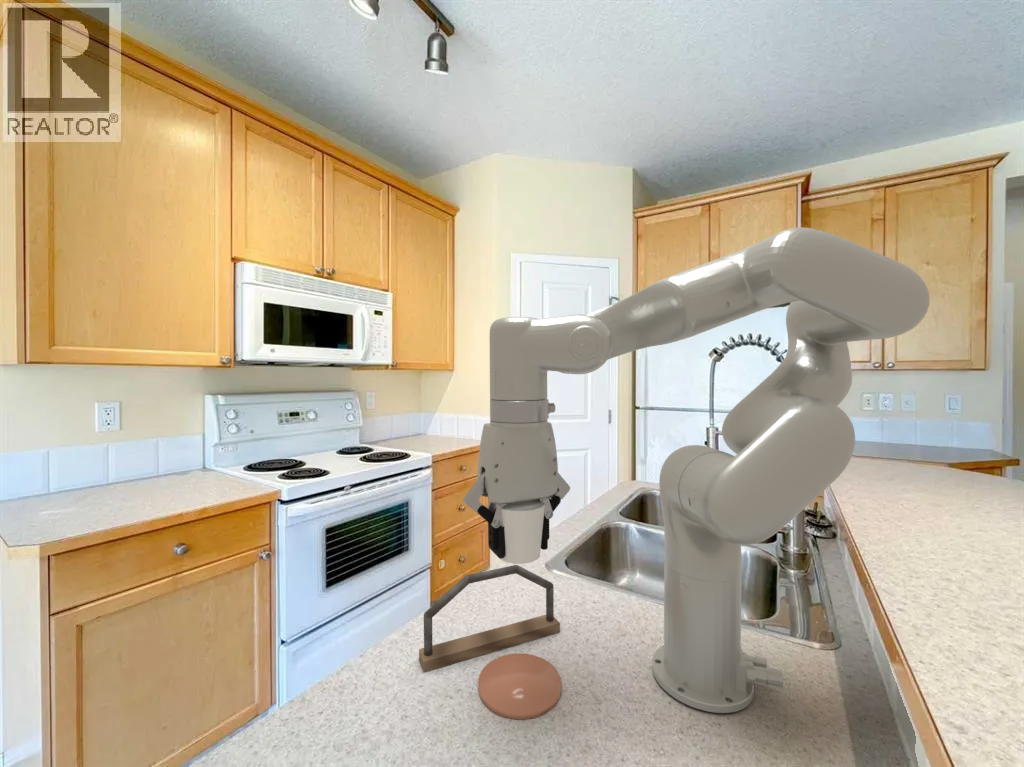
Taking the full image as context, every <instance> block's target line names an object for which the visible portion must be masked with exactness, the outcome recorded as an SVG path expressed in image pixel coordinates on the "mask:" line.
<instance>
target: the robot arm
mask: <svg viewBox="0 0 1024 767" xmlns="http://www.w3.org/2000/svg"><path fill="white" fill-rule="evenodd" d="M785 304H789V305H788V307H787V311H786V316H785V325H786V326H785V327H786V332H787V339H788V340H787V345H788V346H787V352H786V355H785V357H784V359H783V360H782V361H781V362H780V363H779V365H778V366H777V367H776V369H774V370H773V371H772V373H770V375H768V376H767V377H766V378H765V379H763V381H762V382H761V383H759V384H758V385H757V386H756V387H755V388H754V389H753V390H751V392H749V393H748V394H747V395H746V396H745V397H743V398H742V399H741V400H740V401H739V402H738V403H737V404H736V405H735V406H734V407H733V408H732V409H731V410H729V412H728V413H727V415H726V417H725V418H724V420H723V423H722V427H721V435H722V438H723V441H724V443H725V445H726V446H727V447H728V448H729V449H730V451H732V452H733V453H735V454H736V455H733V454H731V453H728V452H726V451H722V450H720V449H716V448H714V447H710V446H706V445H699V444H694V445H693V444H692V445H685V446H682V447H679V448H677V449H676V450H674V451H673V452H671V453H670V454H669V455H668V456H667V458H666V459H665V460H664V462H663V464H662V467H661V469H660V474H659V479H658V480H659V484H658V485H659V496H660V503H661V504H660V505H661V510H662V518H663V529H664V530H663V531H664V532H663V533H664V564H663V566H664V567H663V568H664V571H663V572H664V575H663V578H664V579H663V582H664V584H663V589H664V590H663V645H662V646H660V647H659V648H658V649H656V650H655V652H654V653H653V655H652V660H651V669H652V674H653V676H654V678H655V680H656V682H657V683H658V684H659V686H660V687H661V688H662V689H663V690H664V691H665V692H666V693H667V694H668V695H670V696H671V697H673V698H674V699H675V700H677V701H679V702H680V703H683V704H684V705H687V706H689V707H691V708H694V709H696V710H701V711H703V712H704V711H705V712H708V713H714V714H715V713H716V714H729V713H730V714H731V713H735V712H738V711H741V710H743V709H746V708H747V707H748V706H750V704H751V703H752V701H753V699H754V695H755V692H754V691H755V687H754V685H756V683H761V684H765V685H767V686H770V687H771V686H772V687H778V688H784V677H783V676H784V675H783V672H782V670H781V669H778V668H773V667H768V663H767V662H768V661H767V659H766V657H761V656H752V655H747V652H743V648H742V646H741V644H742V643H741V640H742V639H741V638H742V637H741V636H742V633H741V632H742V572H743V564H742V563H743V562H742V561H743V560H742V559H743V558H742V556H743V555H742V547H741V546H749V545H756V544H758V543H762V542H764V541H766V540H768V539H770V538H771V537H773V536H775V534H778V532H780V531H782V529H783V528H785V527H786V525H788V524H789V523H790V522H791V521H792V520H794V518H795V517H796V516H798V515H799V514H801V512H802V511H804V510H805V509H806V507H808V506H809V505H810V504H811V503H812V502H813V501H814V500H816V498H818V497H819V496H820V495H821V494H823V492H824V491H825V490H827V488H828V487H830V485H831V484H833V483H834V482H835V481H836V480H837V479H838V478H839V477H840V475H842V474H843V472H844V471H845V470H846V468H847V467H848V465H849V464H850V461H851V459H852V456H853V455H854V449H855V445H856V433H855V428H854V427H855V426H854V425H853V423H852V420H851V419H850V417H849V415H848V414H846V413H845V411H843V410H842V409H841V407H839V405H840V404H841V403H842V402H843V401H844V400H845V398H846V397H847V395H848V393H849V391H850V389H851V387H852V384H853V371H852V364H851V357H850V351H849V350H850V349H849V345H848V343H849V342H859V341H872V340H883V339H890V338H894V337H898V336H901V335H903V334H905V333H907V332H910V331H911V330H913V329H914V328H916V326H918V325H919V324H920V323H921V322H922V320H924V318H925V317H926V314H927V313H928V310H929V307H930V293H929V290H928V287H927V285H926V282H925V281H924V280H923V278H922V277H921V276H920V275H919V274H918V273H917V272H916V271H915V270H914V269H912V268H910V267H909V266H907V265H905V264H904V263H902V262H899V261H898V260H895V259H893V258H890V257H889V256H886V255H883V254H881V253H880V252H879V253H878V252H876V251H874V250H872V249H870V248H867V247H865V246H863V245H861V244H858V243H855V242H854V241H851V240H849V239H846V238H843V237H840V236H838V235H835V234H832V233H829V232H827V231H824V230H819V229H816V228H812V227H802V226H801V227H800V226H799V227H790V228H788V229H784V230H781V231H780V232H777V233H776V234H773V235H771V236H770V237H767V238H765V239H763V240H760V241H759V242H757V243H755V244H752V245H750V246H747V247H744V248H742V249H739V250H736V251H734V252H732V253H729V254H726V255H723V256H721V257H718V258H716V259H714V260H710V261H708V262H705V263H702V264H700V265H697V266H695V267H692V268H688V269H685V270H683V271H680V272H678V273H674V274H672V275H669V276H667V277H664V278H662V279H660V280H658V281H656V282H654V283H651V284H650V285H649V284H648V285H647V286H646V287H644V288H642V289H641V290H638V291H636V292H635V293H634V294H631V295H630V296H628V297H625V298H624V299H621V300H619V301H617V302H615V303H612V304H610V305H607V306H605V307H602V308H599V309H597V310H595V311H592V312H590V313H587V314H584V313H583V314H581V313H580V314H569V315H564V316H563V315H562V316H557V317H556V316H555V317H549V318H547V317H545V318H536V317H529V316H511V317H510V316H509V317H503V318H502V317H500V318H498V319H495V320H494V321H493V322H492V323H491V325H490V328H489V423H484V424H483V427H482V431H481V432H482V433H481V436H480V444H479V452H478V464H477V480H476V481H475V482H474V484H473V485H472V486H471V488H470V489H469V490H468V492H467V493H466V494H465V496H464V497H463V500H462V501H463V502H464V504H465V505H466V506H468V507H469V509H471V510H472V511H474V512H475V513H476V514H478V515H479V516H480V517H482V519H484V520H485V521H486V522H487V525H488V526H487V527H488V528H487V530H488V531H487V536H488V538H487V540H488V541H487V542H488V543H487V544H488V548H489V549H490V550H491V552H492V553H493V554H494V555H495V556H496V557H497V558H498V559H499V560H501V558H504V557H505V536H504V527H502V526H500V525H501V522H502V508H505V507H506V505H507V504H509V503H517V502H524V501H530V500H537V501H539V502H541V503H545V509H544V519H543V530H542V540H541V550H543V551H544V550H548V548H549V546H548V545H549V544H548V543H549V540H550V519H552V518H553V516H554V512H555V510H556V509H557V508H558V506H559V505H560V504H561V500H563V499H564V498H565V497H566V495H568V493H569V492H570V491H571V487H570V485H569V483H567V481H566V480H565V478H563V477H562V475H561V473H559V465H558V453H557V445H556V438H555V434H554V430H553V426H552V425H553V424H552V423H551V422H550V421H548V419H550V418H549V415H550V414H551V413H555V412H556V405H555V403H554V402H549V399H548V372H549V371H550V372H558V373H561V374H567V375H586V374H590V373H593V372H594V371H595V372H596V371H597V370H599V369H600V368H601V367H602V366H604V365H605V363H606V362H607V361H608V360H610V359H613V358H616V357H619V356H623V355H625V354H629V353H632V352H636V351H638V350H642V349H646V348H650V347H656V346H662V345H668V344H672V343H675V342H678V341H681V340H685V339H689V338H691V337H695V336H697V335H700V334H701V333H705V332H707V331H710V330H713V329H714V328H718V327H719V326H723V325H726V324H728V323H731V322H734V321H736V320H740V319H741V318H744V317H747V316H750V315H752V314H755V313H758V312H760V311H764V310H767V309H770V308H772V307H775V306H780V305H785ZM481 497H485V498H488V504H487V506H485V505H484V504H483V503H482V502H481V501H480V498H481ZM493 504H495V505H496V506H495V509H494V508H493Z"/></svg>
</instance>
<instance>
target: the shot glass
mask: <svg viewBox="0 0 1024 767" xmlns="http://www.w3.org/2000/svg"><path fill="white" fill-rule="evenodd" d="M495 506H496V505H495V504H493V508H494V509H495ZM544 509H545V503H541V502H539V501H537V500H530V501H524V502H517V503H509V504H507V505H506V507H505V508H502V522H501V525H500V526H502V527H504V536H505V557H504V558H501V559H500V560H501V561H504V562H505V563H509V564H512V565H520V564H522V565H524V564H530V563H533V562H535V561H538V559H539V558H540V557H541V550H542V549H541V540H542V530H543V519H544Z"/></svg>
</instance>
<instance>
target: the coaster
mask: <svg viewBox="0 0 1024 767" xmlns="http://www.w3.org/2000/svg"><path fill="white" fill-rule="evenodd" d="M477 685H478V686H477V687H478V695H479V696H478V697H479V698H480V700H481V702H482V703H483V705H484V706H485V707H486V708H487V709H489V710H490V711H491V712H492V713H494V714H496V715H498V716H499V717H502V718H506V719H511V720H528V719H533V718H534V719H535V718H537V717H540V716H543V715H545V714H547V713H548V712H550V711H551V710H552V709H553V708H554V707H555V706H556V705H557V704H558V702H559V701H560V697H561V695H562V678H561V675H560V673H559V671H558V669H557V668H556V667H555V666H554V665H553V664H552V663H550V662H549V661H548V660H546V659H544V658H542V657H540V656H537V655H533V654H530V653H522V652H521V653H520V652H519V653H508V654H505V655H501V656H499V657H496V658H494V659H493V660H491V661H489V662H488V663H487V664H486V665H485V666H484V667H483V668H482V670H481V671H480V674H479V677H478V683H477Z"/></svg>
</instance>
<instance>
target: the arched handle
mask: <svg viewBox="0 0 1024 767" xmlns="http://www.w3.org/2000/svg"><path fill="white" fill-rule="evenodd" d="M515 574H516V575H518V576H520V577H522V578H524V579H526V580H528V581H530V582H532V583H533V584H536V585H538V586H540V587H542V588H544V589H545V614H543V615H540V616H536V617H533V618H529V619H525V620H522V621H518V622H513V623H510V624H506V625H503V626H499V627H496V628H495V627H494V628H493V629H488V630H484V631H480V632H478V633H473V634H470V635H467V636H463V637H459V638H455V639H452V640H448V641H444V642H440V643H436V644H433V617H435V616H436V615H437V614H438V613H439V612H441V610H442V609H443V608H444V607H445V606H446V605H448V604H449V603H450V602H451V601H452V600H453V599H454V598H455V597H456V596H457V595H458V594H460V593H461V592H462V591H463V590H464V589H465V588H466V587H467V586H468V585H470V584H474V583H478V582H483V581H488V580H492V579H497V578H501V577H506V576H510V575H515ZM554 597H555V596H554V583H553V582H551V581H549V580H547V579H545V578H543V577H541V576H539V575H537V574H536V573H534V572H531V571H530V570H528V569H526V568H523V567H522V566H520V565H519V564H512V565H509V566H504V567H499V568H495V569H494V568H493V569H491V570H490V569H489V570H485V571H480V572H475V573H471V574H470V573H469V574H467V575H464V577H463V578H462V579H460V580H459V581H458V582H457V583H456V584H455V585H453V586H452V587H451V588H450V589H449V590H448V591H447V592H446V593H445V594H444V595H442V597H440V598H438V600H437V601H436V602H435V603H434V604H433V605H431V606H430V607H429V608H428V609H427V610H426V611H424V614H423V647H421V648H419V649H418V660H419V664H420V666H421V668H422V671H423V673H426V672H429V671H433V670H436V669H440V668H442V667H447V666H450V665H452V664H457V663H459V662H463V661H466V660H470V659H473V658H474V659H475V658H478V657H480V656H483V655H486V654H490V653H494V652H497V651H501V650H504V649H507V648H510V647H514V646H517V645H521V644H524V643H528V642H531V641H534V640H538V639H541V638H545V637H548V636H551V635H555V634H558V633H561V623H560V621H559V620H558V619H557V618H555V615H554V610H555V609H554V608H555V607H554V600H555V599H554Z"/></svg>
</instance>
